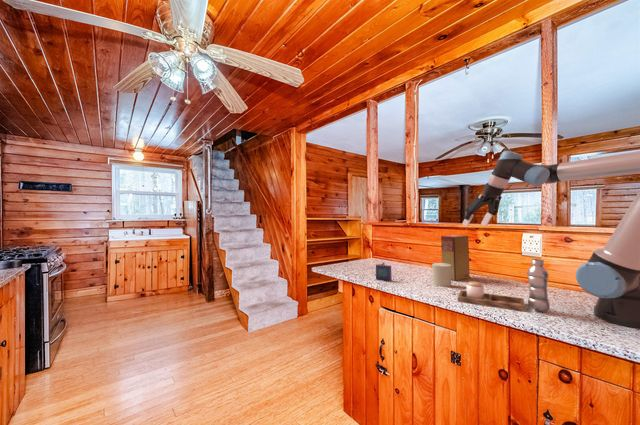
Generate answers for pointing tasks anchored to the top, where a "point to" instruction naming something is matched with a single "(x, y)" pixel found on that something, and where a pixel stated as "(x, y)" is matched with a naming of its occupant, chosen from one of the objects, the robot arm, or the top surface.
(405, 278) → the top surface
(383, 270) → the flask
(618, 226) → the robot arm
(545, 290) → the plastic bottle
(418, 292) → the top surface
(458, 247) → the food packaging
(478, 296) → the jar
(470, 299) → the caddy
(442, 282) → the can
